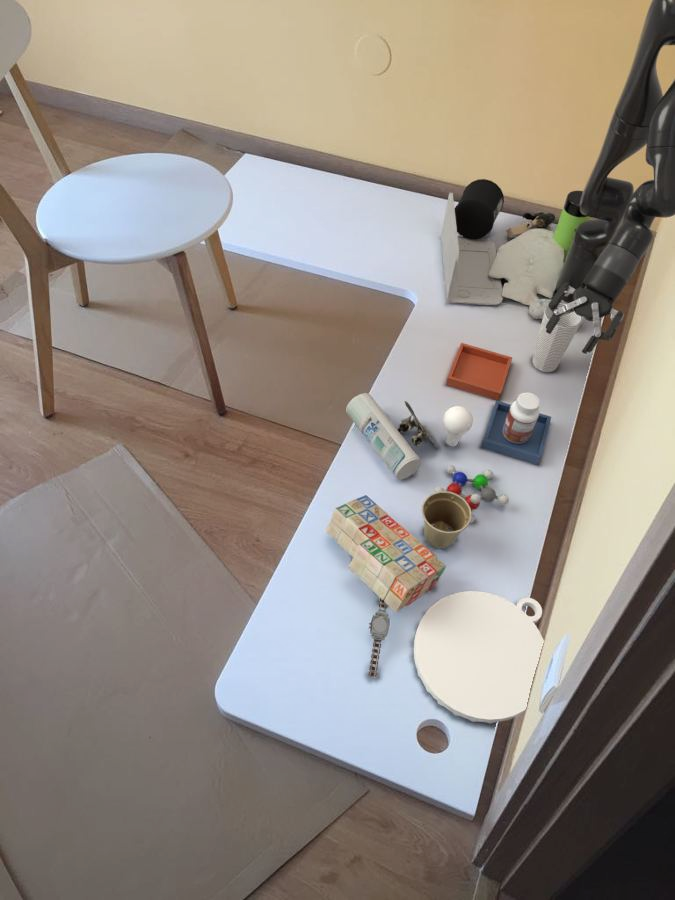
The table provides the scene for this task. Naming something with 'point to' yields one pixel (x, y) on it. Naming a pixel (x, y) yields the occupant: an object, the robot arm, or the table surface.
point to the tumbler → (569, 221)
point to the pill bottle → (521, 418)
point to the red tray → (479, 371)
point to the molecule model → (479, 482)
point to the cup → (554, 339)
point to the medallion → (479, 654)
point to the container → (478, 209)
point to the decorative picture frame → (410, 424)
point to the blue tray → (523, 451)
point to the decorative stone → (539, 308)
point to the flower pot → (444, 518)
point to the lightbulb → (457, 423)
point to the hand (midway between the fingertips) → (565, 342)
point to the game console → (468, 265)
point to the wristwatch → (378, 634)
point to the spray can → (383, 436)
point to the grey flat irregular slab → (529, 266)
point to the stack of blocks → (384, 553)
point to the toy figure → (531, 223)
